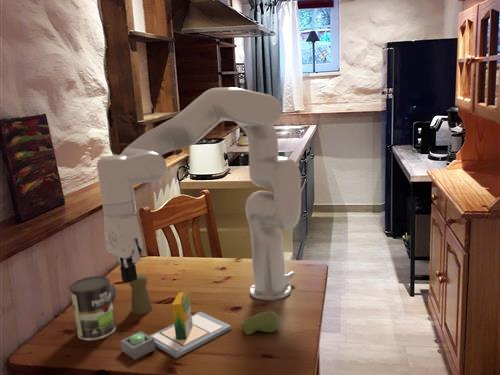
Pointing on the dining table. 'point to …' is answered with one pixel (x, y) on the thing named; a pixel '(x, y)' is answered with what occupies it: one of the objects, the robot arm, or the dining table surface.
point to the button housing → (138, 346)
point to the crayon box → (182, 315)
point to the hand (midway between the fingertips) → (129, 280)
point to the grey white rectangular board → (190, 335)
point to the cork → (140, 295)
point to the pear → (261, 323)
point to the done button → (137, 339)
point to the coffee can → (93, 308)
